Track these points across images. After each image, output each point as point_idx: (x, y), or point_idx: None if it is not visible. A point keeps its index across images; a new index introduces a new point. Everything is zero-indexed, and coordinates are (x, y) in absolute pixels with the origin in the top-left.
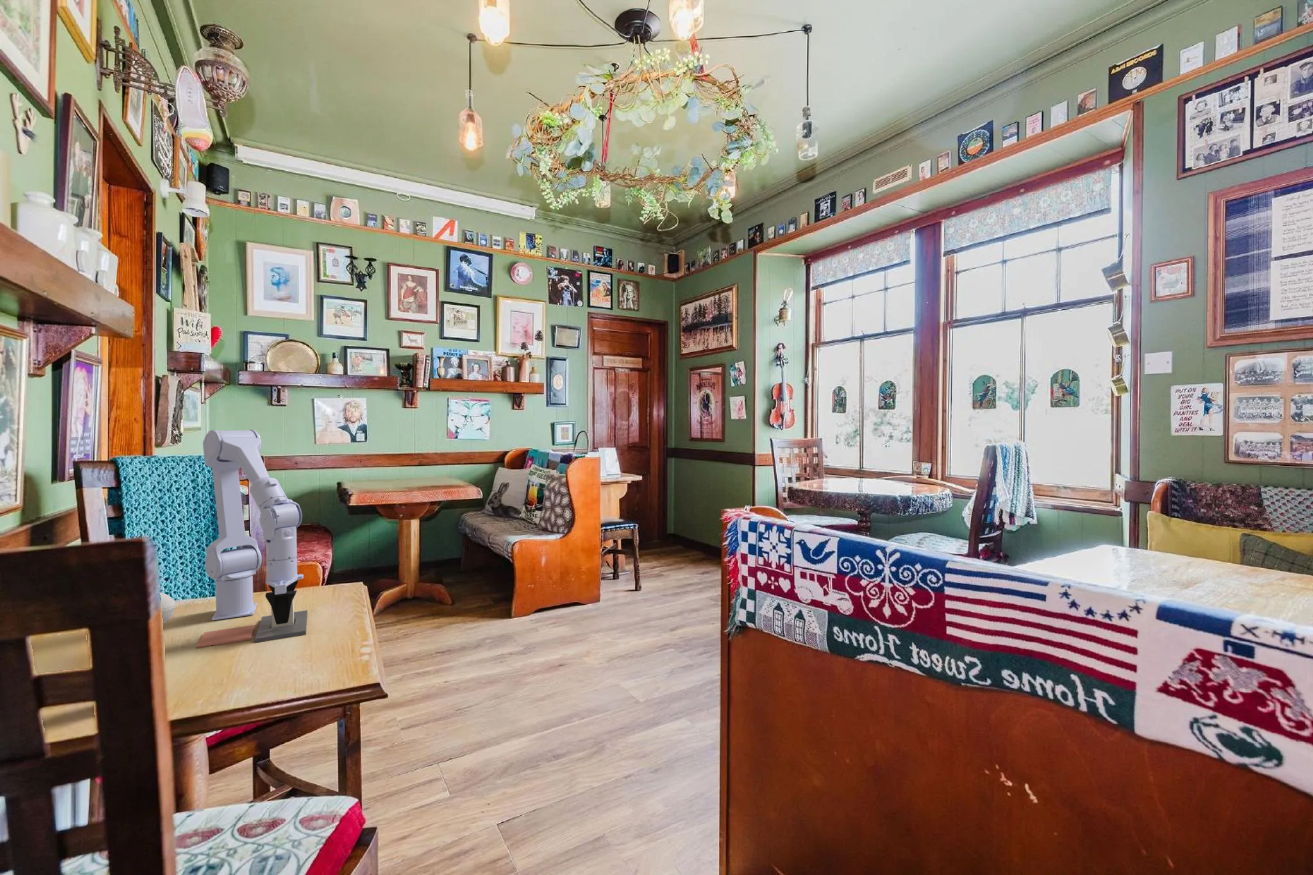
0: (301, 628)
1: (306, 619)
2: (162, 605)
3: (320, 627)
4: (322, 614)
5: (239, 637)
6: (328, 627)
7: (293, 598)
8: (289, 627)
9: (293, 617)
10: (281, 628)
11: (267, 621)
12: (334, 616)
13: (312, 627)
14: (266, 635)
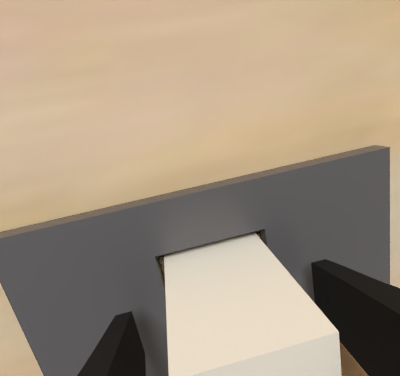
0: (342, 178)
1: (191, 194)
2: None
3: (295, 96)
4: (35, 138)
5: None
6: (313, 51)
7: (191, 365)
8: (301, 240)
9: (230, 260)
10: (301, 270)
11: (159, 368)
12: (103, 50)
13: (277, 139)
14: None
